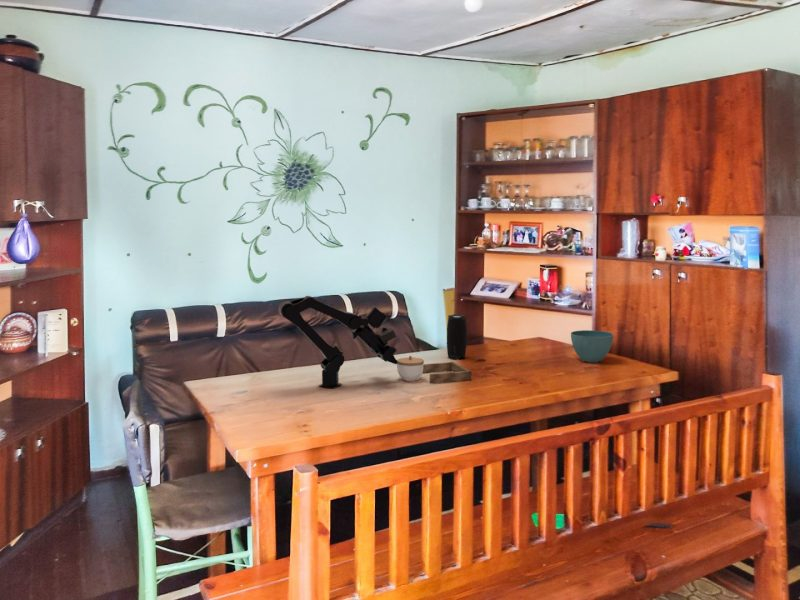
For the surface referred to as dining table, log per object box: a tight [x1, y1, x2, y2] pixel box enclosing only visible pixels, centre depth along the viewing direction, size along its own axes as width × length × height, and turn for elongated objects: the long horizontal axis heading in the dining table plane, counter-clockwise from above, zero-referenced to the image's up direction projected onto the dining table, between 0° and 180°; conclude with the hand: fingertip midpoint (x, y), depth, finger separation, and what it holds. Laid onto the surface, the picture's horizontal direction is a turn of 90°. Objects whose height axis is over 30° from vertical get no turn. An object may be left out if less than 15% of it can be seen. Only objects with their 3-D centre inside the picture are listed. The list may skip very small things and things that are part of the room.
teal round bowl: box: [570, 329, 614, 363], centre depth 317 cm, size 18×18×12 cm
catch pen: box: [422, 361, 472, 384], centre depth 288 cm, size 17×18×4 cm
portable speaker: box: [446, 313, 468, 361], centre depth 322 cm, size 9×9×20 cm
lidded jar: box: [396, 355, 425, 382], centre depth 283 cm, size 11×11×9 cm
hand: (396, 363), depth 281 cm, fingers closed, pressing on lidded jar
